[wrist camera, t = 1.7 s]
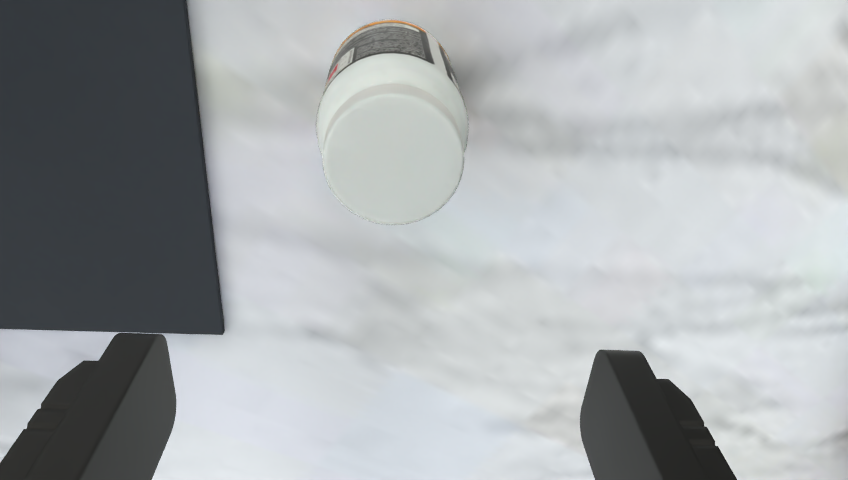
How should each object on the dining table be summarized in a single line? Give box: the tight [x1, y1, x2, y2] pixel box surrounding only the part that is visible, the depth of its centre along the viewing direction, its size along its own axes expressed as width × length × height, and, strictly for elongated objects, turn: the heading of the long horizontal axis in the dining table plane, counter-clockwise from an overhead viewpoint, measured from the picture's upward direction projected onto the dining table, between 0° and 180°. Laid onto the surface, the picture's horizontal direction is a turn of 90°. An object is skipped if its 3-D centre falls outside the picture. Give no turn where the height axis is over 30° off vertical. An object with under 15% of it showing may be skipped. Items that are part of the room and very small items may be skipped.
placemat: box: [0, 0, 224, 335], centre depth 30 cm, size 20×14×1 cm
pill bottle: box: [316, 19, 469, 225], centre depth 24 cm, size 6×6×10 cm
